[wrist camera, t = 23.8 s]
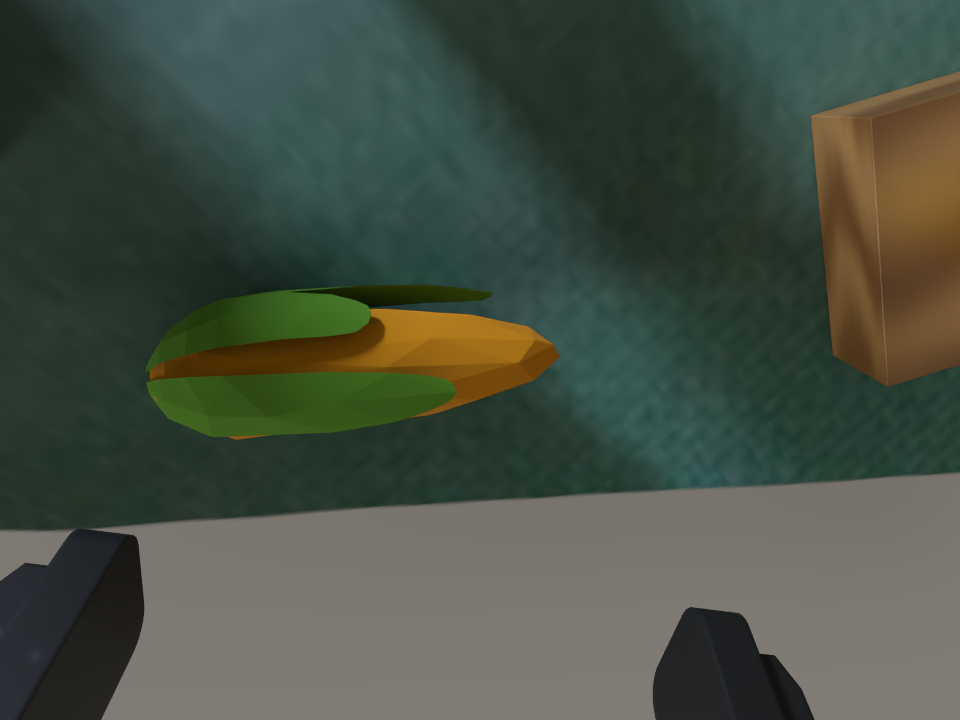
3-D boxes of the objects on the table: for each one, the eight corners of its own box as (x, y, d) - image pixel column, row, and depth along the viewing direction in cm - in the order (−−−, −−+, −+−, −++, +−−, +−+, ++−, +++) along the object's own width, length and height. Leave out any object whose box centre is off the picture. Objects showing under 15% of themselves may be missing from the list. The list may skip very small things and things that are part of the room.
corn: (99, 333, 29) (581, 301, 31) (154, 277, 36) (545, 254, 38) (139, 486, 32) (576, 448, 34) (183, 407, 39) (543, 380, 41)
